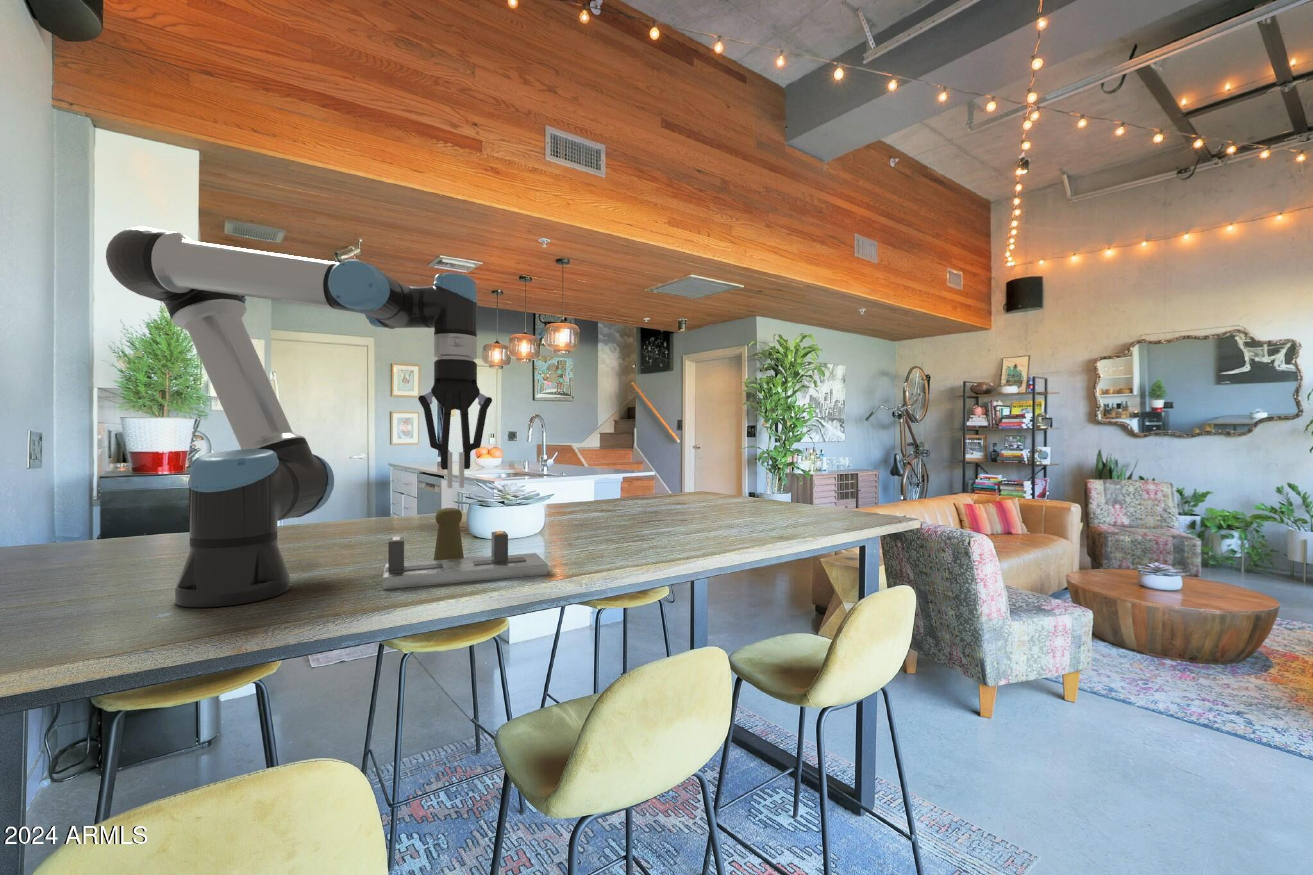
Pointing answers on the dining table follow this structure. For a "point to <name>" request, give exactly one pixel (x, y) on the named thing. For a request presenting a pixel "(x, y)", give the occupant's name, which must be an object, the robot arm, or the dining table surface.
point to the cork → (448, 535)
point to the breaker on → (396, 553)
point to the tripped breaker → (499, 546)
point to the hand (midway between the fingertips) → (455, 487)
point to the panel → (463, 570)
